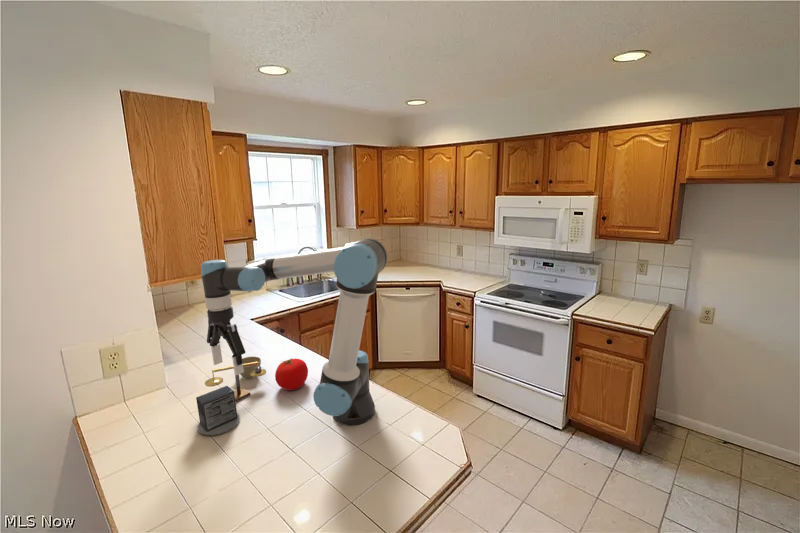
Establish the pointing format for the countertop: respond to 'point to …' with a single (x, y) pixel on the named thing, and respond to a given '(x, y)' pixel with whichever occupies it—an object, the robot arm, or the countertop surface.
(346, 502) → the countertop surface
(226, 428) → the dish
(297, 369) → the tomato
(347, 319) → the robot arm
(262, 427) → the countertop surface
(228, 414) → the small box
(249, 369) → the flower pot
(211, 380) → the balance
